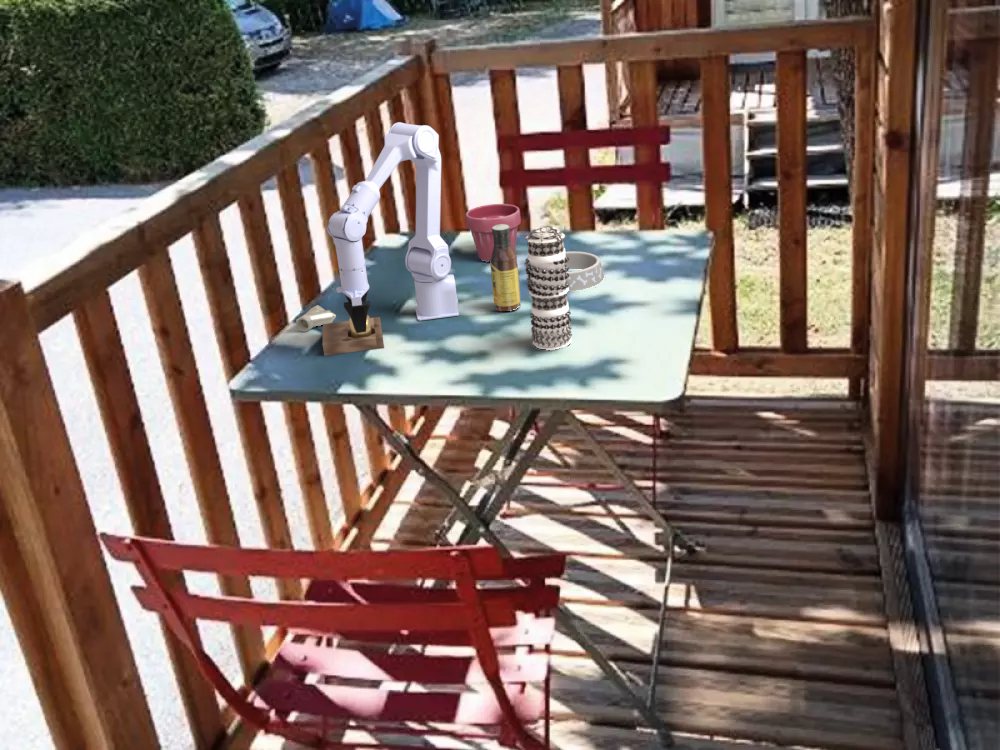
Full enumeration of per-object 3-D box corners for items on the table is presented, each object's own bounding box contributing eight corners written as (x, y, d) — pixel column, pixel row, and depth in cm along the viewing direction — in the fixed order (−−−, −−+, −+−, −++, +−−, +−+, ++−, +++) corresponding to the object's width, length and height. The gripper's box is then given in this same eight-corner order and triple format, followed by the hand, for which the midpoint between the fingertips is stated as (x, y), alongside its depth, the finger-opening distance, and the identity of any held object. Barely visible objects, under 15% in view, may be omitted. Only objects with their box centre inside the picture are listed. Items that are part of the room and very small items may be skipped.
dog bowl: (585, 297, 266) (583, 276, 264) (518, 289, 275) (516, 268, 273) (617, 275, 279) (616, 254, 277) (552, 267, 288) (551, 247, 286)
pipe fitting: (338, 322, 265) (312, 319, 267) (337, 307, 263) (311, 304, 265) (323, 335, 258) (296, 332, 260) (322, 319, 257) (295, 316, 259)
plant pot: (458, 260, 299) (454, 213, 294) (497, 246, 308) (493, 200, 303) (495, 270, 289) (491, 221, 284) (534, 255, 298) (531, 208, 293)
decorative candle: (568, 332, 246) (561, 220, 236) (578, 347, 238) (571, 232, 228) (527, 338, 245) (518, 226, 235) (535, 353, 237) (527, 238, 227)
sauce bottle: (497, 303, 266) (490, 222, 258) (523, 303, 265) (517, 221, 257) (491, 313, 260) (484, 230, 252) (518, 313, 259) (511, 230, 251)
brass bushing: (372, 338, 252) (368, 313, 250) (373, 345, 248) (369, 319, 246) (352, 340, 252) (349, 315, 250) (353, 348, 248) (349, 322, 246)
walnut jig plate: (381, 327, 258) (379, 316, 257) (384, 347, 246) (382, 337, 245) (324, 334, 257) (322, 324, 256) (324, 355, 245) (322, 345, 244)
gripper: (333, 259, 249) (341, 316, 255) (333, 279, 236) (342, 340, 242) (365, 255, 250) (372, 312, 255) (367, 275, 237) (375, 335, 242)
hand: (360, 325), depth 249 cm, fingers open, 7 cm apart
